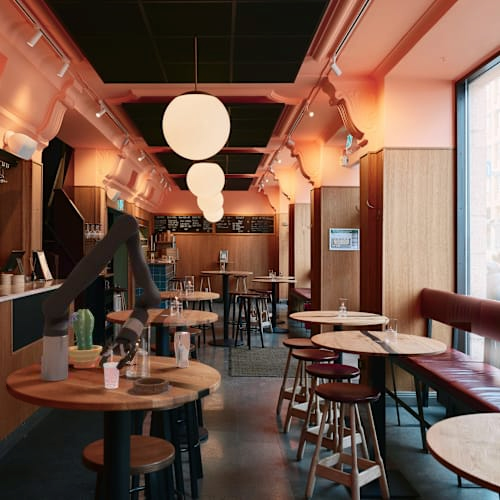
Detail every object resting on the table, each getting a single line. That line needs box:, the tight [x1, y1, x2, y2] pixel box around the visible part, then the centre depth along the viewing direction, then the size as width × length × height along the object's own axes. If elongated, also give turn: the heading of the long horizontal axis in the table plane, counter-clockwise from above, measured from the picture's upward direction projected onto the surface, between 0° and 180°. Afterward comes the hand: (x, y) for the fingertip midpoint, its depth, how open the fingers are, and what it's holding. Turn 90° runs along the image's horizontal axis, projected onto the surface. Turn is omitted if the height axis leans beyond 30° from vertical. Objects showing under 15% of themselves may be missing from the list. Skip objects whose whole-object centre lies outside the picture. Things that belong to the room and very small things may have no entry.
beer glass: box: [173, 331, 191, 369], centre depth 232 cm, size 7×7×15 cm
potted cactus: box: [68, 308, 103, 369], centre depth 232 cm, size 15×15×25 cm
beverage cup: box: [103, 350, 120, 390], centre depth 194 cm, size 6×6×14 cm
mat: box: [128, 384, 173, 395], centre depth 190 cm, size 14×12×1 cm
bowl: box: [132, 376, 170, 395], centre depth 190 cm, size 12×12×3 cm
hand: (109, 367), depth 193 cm, fingers open, 8 cm apart
